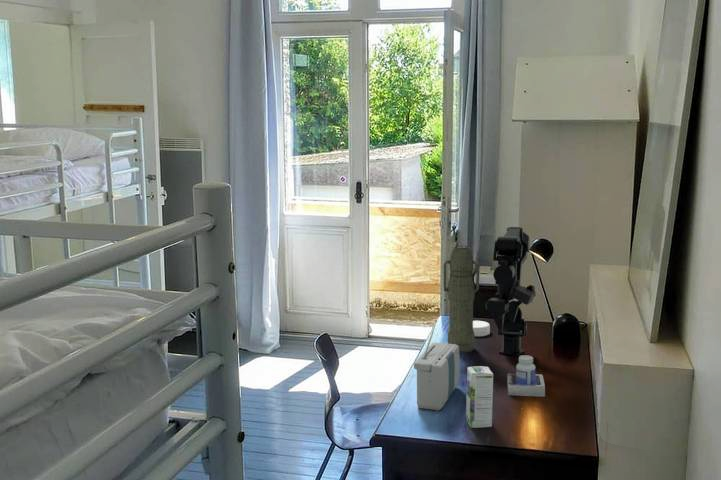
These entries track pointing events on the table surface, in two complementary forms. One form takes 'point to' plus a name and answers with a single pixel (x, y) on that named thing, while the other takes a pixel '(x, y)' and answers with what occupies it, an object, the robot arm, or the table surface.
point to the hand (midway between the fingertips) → (506, 326)
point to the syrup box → (479, 397)
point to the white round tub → (481, 328)
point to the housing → (526, 386)
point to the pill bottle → (525, 371)
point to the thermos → (461, 297)
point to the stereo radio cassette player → (437, 374)
